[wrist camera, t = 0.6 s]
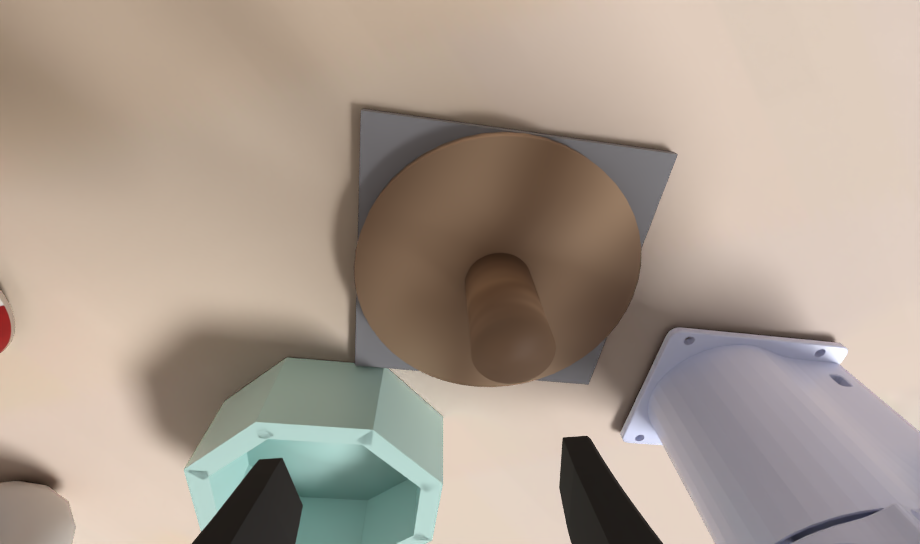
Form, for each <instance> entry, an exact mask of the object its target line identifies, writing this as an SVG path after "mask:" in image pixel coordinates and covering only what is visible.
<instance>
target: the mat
mask: <svg viewBox="0 0 920 544" xmlns="http://www.w3.org/2000/svg"><path fill="white" fill-rule="evenodd" d="M493 132H515V133H527V134H531V135H536V136H541V137H546V138H548V139H551V140H554V141H556V142H559V143H562V144H565V145H566V146H568V147H570V148H572V149H574V150H576V151H578V152H579V153H581V154H583V155H584V156H585V157H587V158H588V159H589V160H591V161H592V162H593V163H595V164H596V165H597V166H598V167H599V168H601V169H602V170H603V171H604V172H605V173H606V174H607V175H608V176H609V177H610V178H611V179H612V180H613V181H614V182H615V184H616V185H617V186H618V188H619V189H620V190H621V192H622V193H623V195H624V196H625V198H626V199H627V201H628V203H629V205H630V207H631V209H632V211H633V213H634V216H635V219H636V223H637V226H638V229H639V234H640V242H641V248H642V245H643V243H644V240H645V238H646V235H647V232H648V230H649V227H650V225H651V222H652V219H653V217H654V214H655V212H656V209H657V207H658V204H659V201H660V199H661V196H662V194H663V191H664V189H665V186H666V183H667V181H668V178H669V176H670V173H671V170H672V168H673V165H674V163H675V160H676V158H677V155H678V154H676V153H674V152H670V151H663V150H656V149H649V148H642V147H634V146H627V145H620V144H613V143H606V142H599V141H591V140H584V139H577V138H570V137H563V136H556V135H548V134H541V133H534V132H527V131H520V130H513V129H505V128H498V127H491V126H484V125H477V124H470V123H462V122H455V121H448V120H441V119H434V118H427V117H420V116H412V115H405V114H398V113H391V112H384V111H377V110H369V109H362V110H361V128H360V170H359V213H358V239H359V236H360V232H361V230H362V228H363V225H364V223H365V220H366V218H367V216H368V213H369V211H370V209H371V207H372V205H373V204H374V202H375V201H376V199H377V197H378V196H379V194H380V193H381V191H382V190H383V189H384V188H385V187H386V185H387V184H388V183H389V182H390V180H391V179H392V178H393V177H394V176H395V175H397V174H398V173H399V172H400V171H401V170H402V169H403V168H404V167H405V166H406V165H408V164H409V163H411V162H412V161H414V160H415V159H417V158H418V157H419V156H421V155H422V154H424V153H426V152H428V151H430V150H432V149H434V148H436V147H438V146H440V145H442V144H444V143H447V142H450V141H453V140H456V139H459V138H462V137H467V136H471V135H476V134H481V133H493ZM606 338H607V337H606ZM606 338H605V339H604V340H603V341H602V342H601V343H600V344H599V345H598V346H597V347H596V348H595V349H593V350H592V351H591V352H589V353H588V354H587V355H586V356H584V357H583V358H581V359H580V360H578V361H577V362H575V363H573V364H572V365H570V366H568V367H566V368H564V369H562V370H560V371H558V372H556V373H554V374H551V375H549V376H546V377H543V378H541V379H537V380H539V381H552V382H564V383H576V384H589V382H590V379H591V377H592V374H593V372H594V369H595V366H596V364H597V361H598V359H599V356H600V354H601V351H602V348H603V346H604V343H605V341H606ZM355 366H367V367H379V368H392V369H404V370H416V371H419V370H417V369H415V368H414V367H412V366H410V365H409V364H407V363H406V362H404V361H402V360H401V359H400V358H399V357H397V356H396V355H395V354H394V353H392V352H391V351H390V350H389V349H388V348H387V347H386V346H385V345H384V344H383V343H382V341H381V340H380V339H379V338H378V336H377V335H376V334H375V332H374V331H373V330H372V328H371V327H370V325H369V323H368V321H367V319H366V318H365V316H364V314H363V311H362V308H361V306H360V303H359V300H358V296H357V298H356V341H355Z"/></svg>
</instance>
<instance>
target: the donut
mask: <svg viewBox="0 0 920 544" xmlns="http://www.w3.org/2000/svg"><path fill="white" fill-rule="evenodd" d="M75 528H76V526H75V522H74V519H73V515H72V512H71V509H70V505H69V502H68V501H67V500H66V499H64V498H63V497H62V496H60V495H59V494H58V493H57V492H55V491H54V490H53V489H51V488H50V487H49V486H46V485H40V484H34V483H28V482H22V481H10V482H1V483H0V544H72V542H73V538H74V533H75Z"/></svg>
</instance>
